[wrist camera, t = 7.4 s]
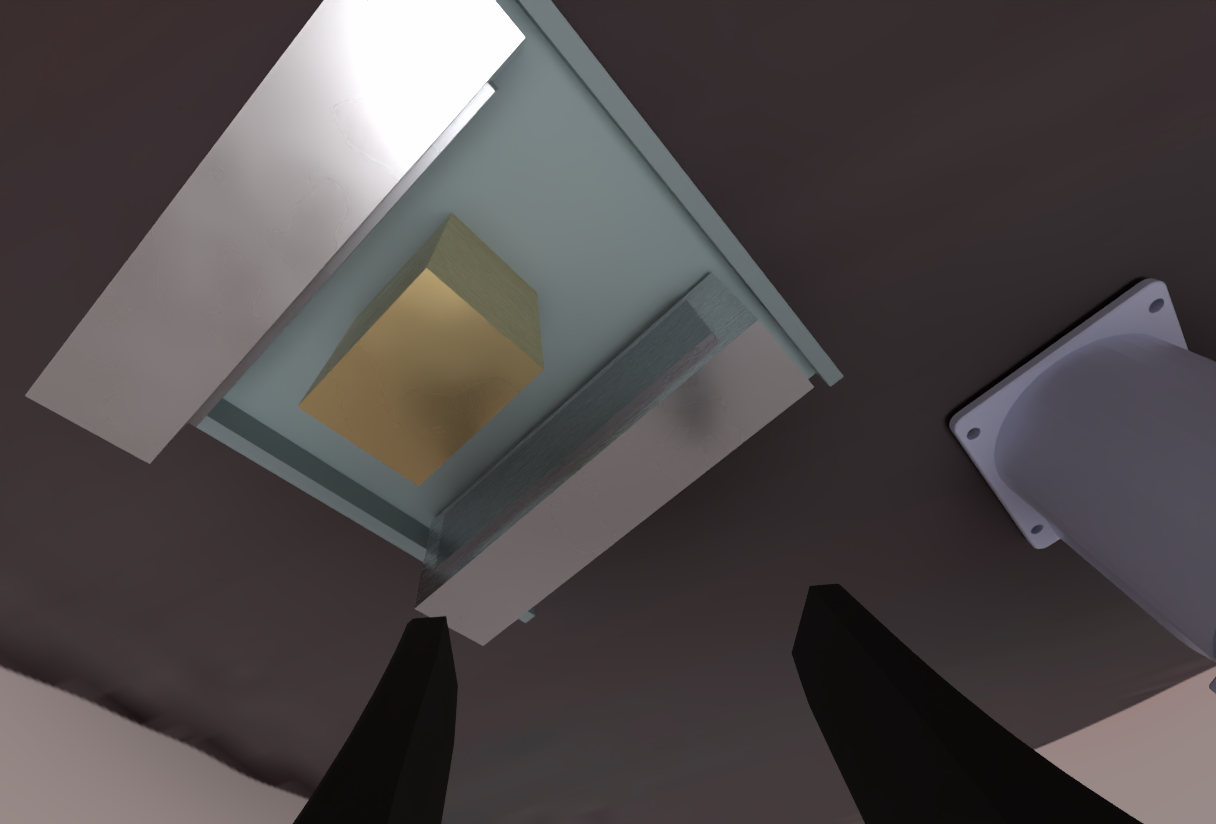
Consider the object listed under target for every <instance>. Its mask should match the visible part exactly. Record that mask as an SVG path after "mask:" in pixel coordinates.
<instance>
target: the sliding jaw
mask: <svg viewBox="0 0 1216 824" xmlns="http://www.w3.org/2000/svg"><path fill="white" fill-rule="evenodd" d="M812 388H814V386H813V385H812V384H811V383H810V381H809V380H808V379H807V378H806V377H805V375H804V374H803V373H802V372H801V371H800V369H799V368H798V367H797V366H796V364H795V363H794V362H793V361H792V360H791V358H790V357H789V356H788V355H787V354H786V352H785V351H784V350H783V349H782V348H781V346H780V345H779V344H778V343H777V341H776V340H775V339H774V338H773V337H772V335H771V334H770V333H769V332H768V331H767V329H766V328H765V327H764V326H763V325H762V323H761V322H760V321H759V320H758V319H757V318H756V317H755V316H754V315H753V314H752V313H751V312H750V311H749V309H748V308H747V307H746V306H745V305H744V304H743V303H742V302H741V301H740V300H739V299H738V298H737V297H736V296H735V295H734V294H733V293H732V292H731V291H730V290H729V289H728V288H727V287H726V286H725V285H724V284H723V283H722V282H721V281H720V280H719V279H718V278H717V277H716V276H715V275H714V274H713V273H712V272H711V273H710V274H709V275H708V276H707V277H706V278H705V279H703V280H702V281H701V282H700V283H699V284H698V285H697V286H696V287H694V288H693V289H692V290H691V291H690V292H689V293H688V294H687V295H685V296H684V297H683V298H682V299H681V300H680V301H679V302H678V303H676V304H675V305H674V306H673V307H672V308H671V309H670V310H669V311H667V312H666V313H665V314H664V315H663V316H662V317H661V318H660V319H658V320H657V321H656V322H655V323H654V324H653V325H652V326H651V327H649V328H648V329H647V330H646V331H645V332H644V333H643V334H642V335H640V336H639V337H638V338H637V339H636V340H635V341H634V342H633V343H631V344H630V345H629V346H628V347H627V348H626V349H625V350H624V351H622V352H621V353H620V354H619V355H618V356H617V357H616V358H615V359H613V360H612V361H611V362H610V363H609V364H608V365H607V366H606V367H605V368H603V369H602V370H601V371H600V372H599V373H598V374H597V375H596V376H594V377H593V378H592V379H591V380H590V381H589V382H588V383H587V384H585V385H584V386H583V387H582V388H581V389H580V390H579V391H578V392H576V393H575V394H574V395H573V396H572V397H571V398H570V399H569V400H567V401H566V402H565V403H564V404H563V405H562V406H561V407H560V408H558V409H557V410H556V411H555V412H554V413H553V414H552V415H551V416H549V417H548V418H547V419H546V420H545V421H544V422H543V423H542V424H540V425H539V426H538V427H537V428H536V429H535V430H534V431H533V432H531V433H530V434H529V435H528V436H527V437H526V438H525V439H524V440H522V441H521V442H520V443H519V444H518V445H517V446H516V447H515V448H513V449H512V450H511V451H510V452H509V453H508V454H507V455H506V456H504V457H503V458H502V459H501V460H500V461H499V462H498V463H497V464H495V465H494V466H493V467H492V468H491V469H490V470H489V471H488V472H486V473H485V474H484V475H483V476H482V477H481V478H480V479H479V480H477V481H476V482H475V483H474V484H473V485H472V486H471V487H470V488H468V489H467V490H466V491H465V492H464V493H463V494H462V495H461V496H459V497H458V498H457V499H456V500H455V501H454V502H453V503H452V504H450V505H449V506H448V507H447V508H446V509H445V510H444V511H443V512H441V513H440V514H439V515H438V516H437V517H436V518H435V519H434V520H432V521H431V526H430V531H429V536H428V542H427V547H426V552H425V557H424V562H423V568H422V573H421V578H420V583H419V588H418V594H417V599H416V604H415V609H416V610H418V611H420V612H422V613H424V614H425V615H427V616H429V617H440V616H446V618H447V624H448V627H449V628H451V629H453V630H455V631H456V632H458V633H460V634H462V635H464V636H466V637H467V638H469V639H471V640H473V641H475V642H477V643H478V644H480V645H482V646H484V645H485V644H486V643H488V642H489V641H490V640H491V639H493V638H494V637H495V636H496V635H498V634H499V633H500V632H502V631H503V630H504V629H505V628H507V627H508V626H509V625H511V624H512V623H513V622H514V621H516V620H517V619H518V618H520V617H521V616H522V615H523V614H525V613H526V612H527V611H528V610H530V609H531V608H532V607H534V606H535V605H536V604H537V603H539V602H540V601H541V600H543V599H544V598H545V597H546V596H548V595H549V594H550V593H551V592H553V591H554V590H555V589H557V588H558V587H559V586H560V585H562V584H563V583H564V582H566V581H567V580H568V579H569V578H571V577H572V576H573V575H575V574H576V573H577V572H578V571H580V570H581V569H582V568H583V567H585V566H586V565H587V564H589V563H590V562H591V561H592V560H594V559H595V558H596V557H598V556H599V555H600V554H601V553H603V552H604V551H605V550H607V549H608V548H609V547H610V546H612V545H613V544H614V543H615V542H617V541H618V540H619V539H621V538H622V537H623V536H624V535H626V534H627V533H628V532H630V531H631V530H632V529H633V528H635V527H636V526H637V525H638V524H640V523H641V522H642V521H644V520H645V519H646V518H647V517H649V516H650V515H651V514H653V513H654V512H655V511H656V510H658V509H659V508H660V507H662V506H663V505H664V504H665V503H667V502H668V501H669V500H670V499H672V498H673V497H674V496H676V495H677V494H678V493H679V492H681V491H682V490H683V489H685V488H686V487H687V486H688V485H690V484H691V483H692V482H694V481H695V480H696V479H697V478H699V477H700V476H701V475H702V474H704V473H705V472H706V471H708V470H709V469H710V468H711V467H713V466H714V465H715V464H717V463H718V462H719V461H720V460H722V459H723V458H724V457H725V456H727V455H728V454H729V453H731V452H732V451H733V450H734V449H736V448H737V447H738V446H740V445H741V444H742V443H743V442H745V441H746V440H747V439H749V438H750V437H751V436H752V435H754V434H755V433H756V432H757V431H759V430H760V429H761V428H763V427H764V426H765V425H766V424H768V423H769V422H770V421H772V420H773V419H774V418H775V417H777V416H778V415H779V414H781V413H782V412H783V411H784V410H786V409H787V408H788V407H789V406H791V405H792V404H793V403H795V402H796V401H797V400H798V399H800V398H801V397H802V396H804V395H805V394H806V393H807V392H809V391H810V390H811V389H812Z"/></svg>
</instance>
